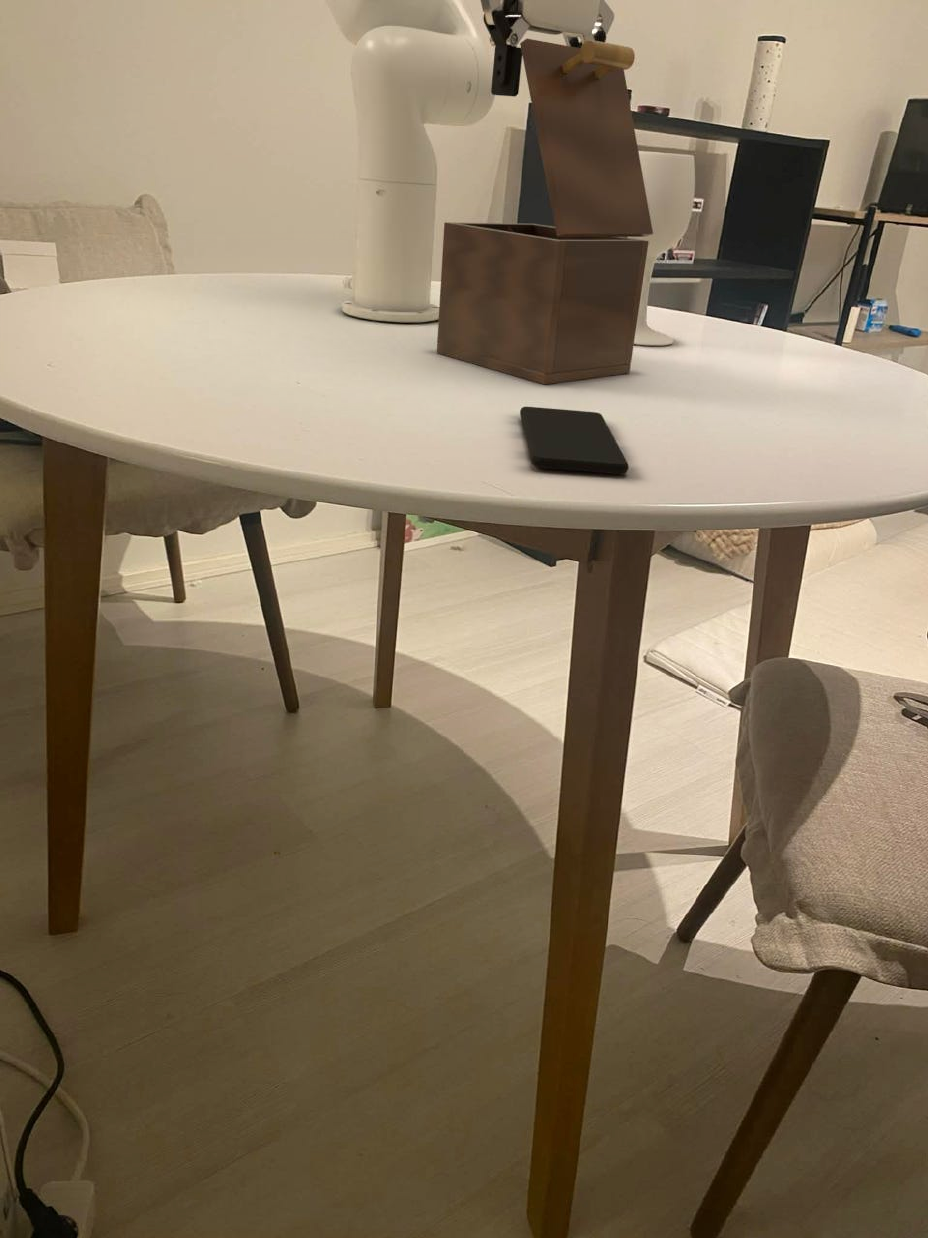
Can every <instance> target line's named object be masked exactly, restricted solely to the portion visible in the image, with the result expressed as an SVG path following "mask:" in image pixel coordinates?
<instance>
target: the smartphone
mask: <svg viewBox="0 0 928 1238" xmlns="http://www.w3.org/2000/svg"><path fill="white" fill-rule="evenodd" d="M519 416H520V419H521V424H522V429H523V432H524V437H525V441H526V446H527V449H528V454H529V458H530V462H531V464H532V466H533V467H535V468H539V469H552V470H563V471H564V470H565V471H573V472H574V471H575V472H587V473H601V474H602V473H603V474H614V475H624V474H626V473H627V472H628V471H629V463H628V461H627V459H626V457H625V455H624V453H623V452H622V449H621V448H620V446H619V444H618V442H617V441H616V438H615V437H614V434H613V432H612V431H611V429H610V428H609V426H608V424H607V421H606V420H605V418H604V416H603V415H602V413H600V412H595V411H585V410H584V411H583V410H572V409H561V408H549V407H538V406H522V407H521V408H520V410H519Z"/></svg>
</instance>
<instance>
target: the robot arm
mask: <svg viewBox="0 0 928 1238" xmlns="http://www.w3.org/2000/svg"><path fill="white" fill-rule="evenodd" d="M325 3H326V4H327V6H328V8H329V10H330V12H331V15H332V16H333V18H334V21H335V23H336V25H337V27H338V29H339V31H340V32H341V34H342V35H343V36H344V38H345V39H346V40H347V41H348V42H350V43H351V44H352V45H354V50H353V52H352V57H351V61H350V63H351V64H350V77H351V87H352V91H353V92H352V94H353V99H354V100H353V102H354V109H355V116H356V128H357V129H356V130H357V186H356V189H357V190H356V191H357V192H356V229H355V230H356V232H355V234H356V235H355V236H356V237H355V270H354V271H353V272H351V277H349V276H347V277H344V279H343V281H342V284H343V285H342V286H343V287H344V288H346V289H350V290H351V298H349V299H346V300H344V301H342V305H341V307H342V308H341V311H342V312H343V313H344V314H346V315H348V316H351V317H354V318H359V319H364V320H371V321H378V322H390V323H428V322H434V321H437V320H438V321H439V305H435V304H433V303H431V291H432V276H433V275H432V273H433V256H434V238H435V237H434V236H435V218H436V202H437V186H438V185H437V181H438V180H437V178H438V165H437V164H438V163H437V157H436V153H435V150H434V147H433V144H432V142H431V138H430V137H429V135H428V133H427V129H426V127H425V124H426V125H427V124H430V125H441V126H450V127H467V126H472V125H474V124H477V123H478V122H480V121H482V120H483V119H484V118H485V117H486V116H488V114H489V112H490V110H491V109H492V106H493V104H494V101H495V96H500V97H501V96H502V97H517V96H518V95H519V92H520V81H521V80H520V79H521V73H522V64H523V63H522V62H523V56H522V51H521V47H519V46H518V45H519V44H520V43H521V40H522V39H523V37H524V36H525V34H526V33H527V32H528V31H529V32H535V33H541V34H547V35H552V36H553V35H555V36H557V35H561V34H562V36H563V39H564V41H565V46H571V47H576V48H581V47H582V45H583V43H584V42H585V41H587V40H594V41H599V42H605V43H606V42H607V35H608V33H609V31H610V29H611V27H612V24H613V22H614V20H615V12H614V11H613V10H612V8H611V7H610V6H609V5H608V3H607V2H606V1H605V0H480V4H481V9H482V13H484V14H483V18H482V19H483V23H484V25H485V27H486V30H487V32H488V33H489V44H490V45H491V47H494V54H493V58H492V55H491V52H490V50H489V47H488V45H487V43H486V41H485V38H484V37H483V35H482V33H481V31H480V29H479V27H478V25H477V23H476V21H475V19H474V17H473V16H472V13H471V11H470V9H469V8H468V5H467V3H466V1H465V0H325ZM579 39H580V40H579Z"/></svg>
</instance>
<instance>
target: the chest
mask: <svg viewBox="0 0 928 1238" xmlns="http://www.w3.org/2000/svg"><path fill="white" fill-rule="evenodd" d="M508 227H510V228H511V229H512V231H513V232H510V231H509V230H508V229H507V228H508ZM442 238H443V239H442V255H441V271H440V272H441V273H440V286H439V287H440V289H439V303H438V304H439V305H438V307H439V319H438V322H437V341H436V353H437V354H439V355H443V356H446V357H450V358H453V359H456V360H460V361H463V362H466V363H470V364H474V365H476V366H479V367H483V368H487V369H490V370H493V371H496V372H500V373H503V374H507V375H511V376H514V377H517V378H521V379H524V380H526V381H527V380H528V381H530V382H535V383H537V384H541V385H550V384H551V385H552V384H558V383H565V382H573V381H574V382H575V381H580V380H588V379H594V378H595V379H596V378H603V377H610V376H617V375H618V376H619V375H625V374H630V372H631V364H632V358H633V352H634V346H635V344H634V339H635V332H636V325H637V318H638V312H639V305H640V298H641V291H642V284H643V277H644V270H645V264H646V257H647V250H648V243H649V241H646V240H640V239H633V238H627V237H558V236H557V233H556V228H555V226H553V225H546V224H540V223H539V224H538V223H521V222H519V223H517V222H516V223H513V222H511V223H510V222H509V223H507V222H447V221H446V222H444V224H443V237H442Z"/></svg>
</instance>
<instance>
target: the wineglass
mask: <svg viewBox="0 0 928 1238" xmlns="http://www.w3.org/2000/svg"><path fill="white" fill-rule="evenodd" d="M638 152H639V158H640V163H641V169H642V174H643V180H644V186H645V191H646V197H647V202H648V208H649V213H650V219H651V225H652V230H653V234H652V235H649V236H647V237H626V238H633V239H640V240H646V241H649V243H648V250H647V257H646V264H645V270H644V277H643V284H642V291H641V298H640V305H639V312H638V318H637V325H636V332H635V339H634V345H637V346H649V347H650V346H652V347H655V346H656V347H657V346H658V347H659V346H668V345H673V343H674V340H673V338H671V337H670V336H669V335H667V334H665V333H663V332H661V331H658V330H655V329H652V328H650V326H649V325H648V321H647V318H648V317H647V316H648V315H647V313H648V303H649V294H650V286H651V282H652V281H651V280H652V276H653V275H652V274H653V271H654V267H655V264H656V261H657V259H658V257H659V256H661V255H662V254H664V253H665V252H667V251H668V250H670V249H672V248H673V247H674V246H675V245H677V244H678V243H679V242H680V241H681V240H682V238H683V237H684V236H685V234H686V233H687V230H688V228H689V225H690V222H691V218H692V214H693V208H694V204H695V203H694V201H695V193H696V192H695V191H696V165H695V156H694V155H692V154H683V153H682V154H681V153H669V152H668V153H667V152H657V151H645V150H638Z"/></svg>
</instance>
